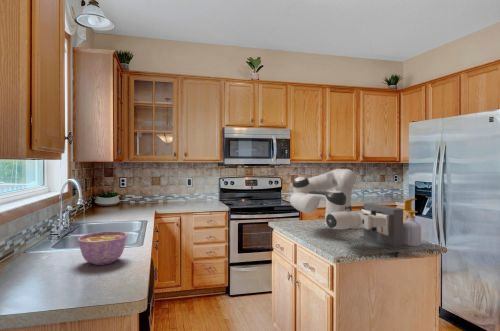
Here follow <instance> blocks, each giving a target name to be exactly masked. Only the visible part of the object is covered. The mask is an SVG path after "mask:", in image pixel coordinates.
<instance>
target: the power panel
mask: <svg viewBox="0 0 500 331" xmlns="http://www.w3.org/2000/svg"><path fill="white" fill-rule="evenodd" d="M362 209H364V210H368V211H371V214H372V215H375V216H376V213H380V214H384V215H389V235H385V234H382V233H378V232H377V227H371V229H370V230H368V229H365V228H362V230H363V235H359V239H361V240H363V241H366V242H369V243H371V244H374V245H377V246H380V247H382V248H385V249H387V250H390V251H397V250H406V249H408V247H409V246H407V245H404V244H403V223H404V208H399V207H395V206H394V207H393V206H389V205H383V204H378V203H373V202H369V203H368V202H367V203H363V207H359V210H362Z"/></svg>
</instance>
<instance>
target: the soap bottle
mask: <svg viewBox="0 0 500 331" xmlns="http://www.w3.org/2000/svg"><path fill="white" fill-rule="evenodd" d="M416 200H417V198H408V199H405V200H404V211H405V212H408V214H409V215H408V216H407V220H406V221H403V245H406V246H408V247H420V246H421V245H422V226H421V224H420V223H419V222H417V221H416V216H415V213H418V211H416V210H413V209H412V201H416Z"/></svg>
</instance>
